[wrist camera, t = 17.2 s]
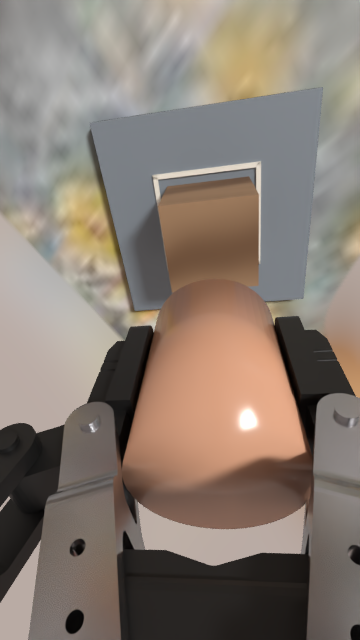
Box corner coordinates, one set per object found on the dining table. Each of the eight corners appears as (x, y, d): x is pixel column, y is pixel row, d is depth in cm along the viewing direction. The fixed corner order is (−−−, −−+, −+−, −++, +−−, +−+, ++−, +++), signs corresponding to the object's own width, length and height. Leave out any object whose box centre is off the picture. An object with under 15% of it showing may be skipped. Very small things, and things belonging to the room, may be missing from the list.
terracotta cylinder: (146, 284, 12) (99, 422, 7) (274, 273, 11) (328, 416, 6) (166, 375, 14) (142, 527, 9) (271, 370, 13) (308, 531, 8)
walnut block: (167, 186, 22) (157, 206, 18) (249, 176, 21) (259, 194, 17) (177, 261, 25) (171, 292, 21) (250, 254, 24) (258, 285, 20)
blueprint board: (94, 122, 21) (88, 123, 20) (318, 87, 19) (323, 87, 18) (137, 304, 29) (134, 311, 28) (300, 292, 27) (303, 299, 26)
